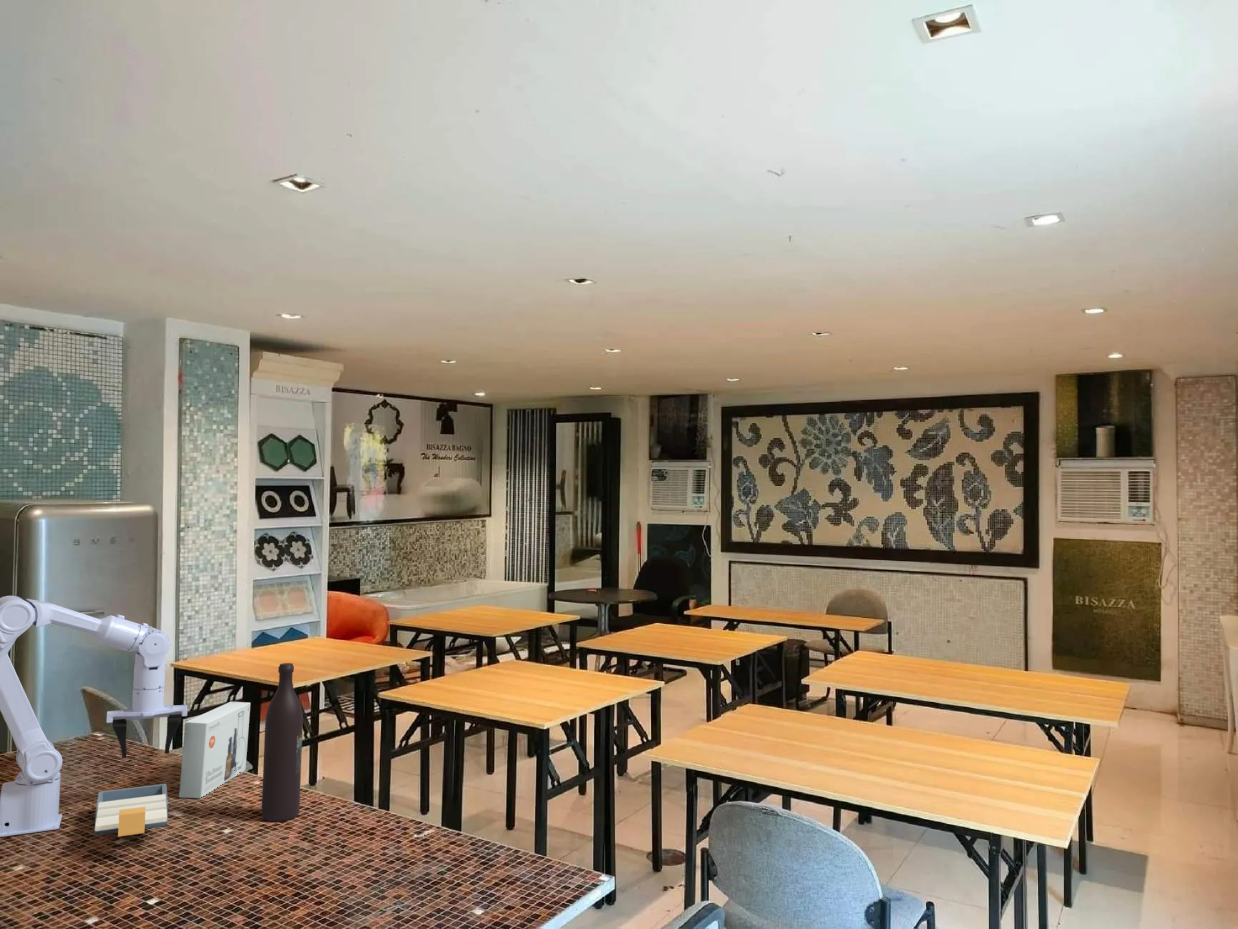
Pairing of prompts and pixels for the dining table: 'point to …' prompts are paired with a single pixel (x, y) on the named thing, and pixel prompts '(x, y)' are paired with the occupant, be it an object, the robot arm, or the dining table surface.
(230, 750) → the skincare box
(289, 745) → the wine bottle
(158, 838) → the dining table surface
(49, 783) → the robot arm
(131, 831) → the lid
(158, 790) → the tub
